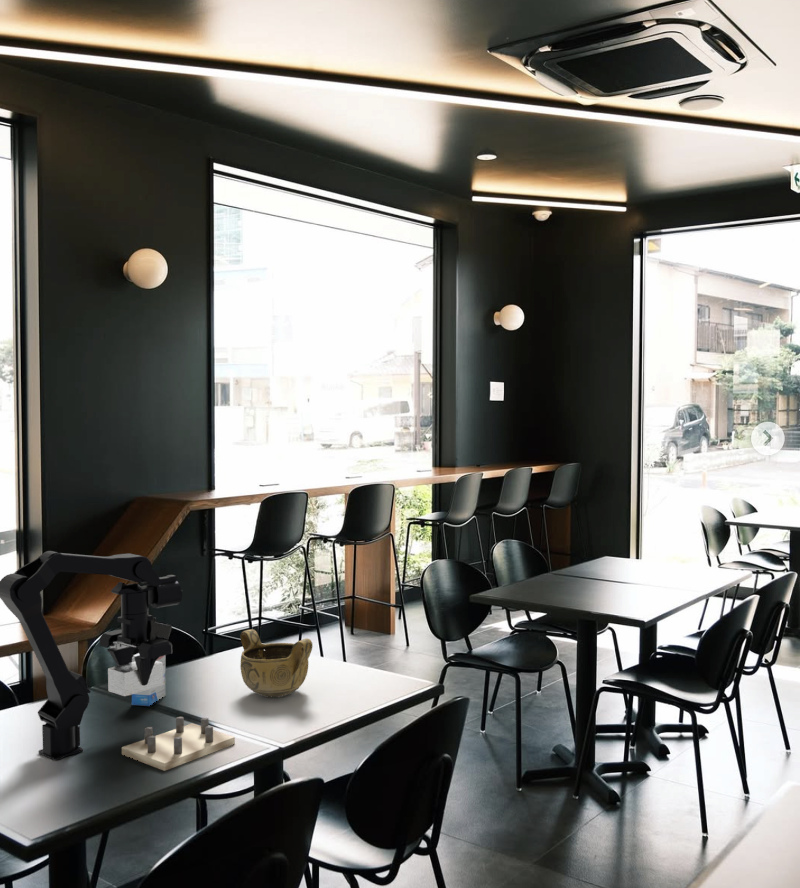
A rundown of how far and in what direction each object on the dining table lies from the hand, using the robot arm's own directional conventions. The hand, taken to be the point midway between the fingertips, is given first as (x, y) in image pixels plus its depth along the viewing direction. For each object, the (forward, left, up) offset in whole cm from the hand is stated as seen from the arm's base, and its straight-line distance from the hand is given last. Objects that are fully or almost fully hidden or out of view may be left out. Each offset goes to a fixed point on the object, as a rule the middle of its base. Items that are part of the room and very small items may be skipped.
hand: (136, 682), depth 197 cm
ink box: (+15, +16, -11) cm, 25 cm away
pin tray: (-1, -16, -11) cm, 19 cm away
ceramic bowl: (+37, -5, -11) cm, 39 cm away
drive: (0, 0, -1) cm, 1 cm away
